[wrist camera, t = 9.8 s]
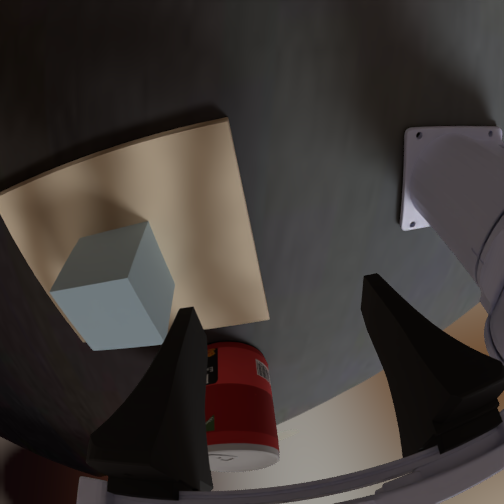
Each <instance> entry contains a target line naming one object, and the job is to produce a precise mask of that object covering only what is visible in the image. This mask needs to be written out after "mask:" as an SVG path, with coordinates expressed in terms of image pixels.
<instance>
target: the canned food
mask: <svg viewBox="0 0 504 504" xmlns="http://www.w3.org/2000/svg"><path fill="white" fill-rule="evenodd" d="M207 349H208V364H207V379H206V394H205V422H206V436H207V447H208V455H209V464H210V470H211V471H218V472H244V471H252V470H258V469H262V468H266V467H269V466H271V465H273V464H275V463H277V462H278V461H279V445H278V435H277V429H276V421H275V414H274V406H273V399H272V392H271V385H270V377H269V370H268V364H267V362H266V360H265V358H264V356H263V354H262V353H261V352H260V351H259V350H257V349H256V348H254V347H252V346H250V345H247V344H243V343H238V342H218V343H213V344H209V345H207Z"/></svg>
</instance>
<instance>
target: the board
mask: <svg viewBox="0 0 504 504" xmlns="http://www.w3.org/2000/svg"><path fill="white" fill-rule="evenodd" d="M0 214H1V216H2V218H3V220H4V222H5V224H6V226H7V228H8V230H9V231H10V233H11V235H12V237H13V239H14V241H15V242H16V244H17V246H18V248H19V249H20V251H21V253H22V254H23V256H24V258H25V259H26V261H27V263H28V264H29V266H30V268H31V269H32V271H33V272H34V274H35V276H36V277H37V279H38V280H39V282H40V283H41V285H42V286H43V288H44V289H45V291H46V292H47V294H48V295H49V297H50V298H51V300H52V301H53V303H54V304H55V305H56V307H57V308H58V310H59V311H60V312H61V314H62V315H63V316H64V318H65V319H66V321H67V322H68V323H69V325H70V326H71V327H72V328H73V330H74V331H75V332H76V334H77V335H78V336H79V337H80V339H81V340H82V341H83V342H86V341H85V340H84V339H83V337H82V336H81V335H80V333H79V332H78V331H77V330H76V328H75V327H74V326H73V324H72V323H71V322H70V320H69V319H68V318H67V316H66V315H65V314H64V312H63V311H62V310H61V308H60V307H59V305H58V304H57V303H56V301H55V300H54V298H53V297H52V295H51V294H50V293H49V292H50V290H51V288H52V286H53V284H54V282H55V280H56V279H57V277H58V275H59V273H60V271H61V269H62V268H63V266H64V264H65V262H66V261H67V259H68V257H69V255H70V254H71V252H72V250H73V248H74V247H75V245H76V243H77V242H78V240H79V238H82V237H86V236H90V235H94V234H97V233H101V232H105V231H109V230H113V229H117V228H121V227H125V226H129V225H134V224H138V223H142V222H146V221H149V224H150V226H151V229H152V231H153V234H154V236H155V239H156V241H157V243H158V246H159V248H160V251H161V253H162V255H163V258H164V260H165V262H166V265H167V267H168V269H169V271H170V274H171V276H172V278H173V280H174V283H175V288H174V294H173V300H172V306H171V313H170V319H169V326H168V332H169V330H170V327H171V325H172V323H173V321H174V319H175V317H176V315H177V312H178V310H179V309H180V308H186V307H193V306H194V309H195V311H196V313H197V316H198V318H199V320H200V322H201V325H202V327H203V329H204V330H205V329H212V328H219V327H226V326H232V325H239V324H245V323H252V322H258V321H264V320H270V319H269V312H268V306H267V301H266V296H265V292H264V287H263V282H262V277H261V272H260V267H259V263H258V258H257V253H256V248H255V243H254V238H253V234H252V229H251V224H250V219H249V215H248V210H247V205H246V200H245V195H244V191H243V186H242V181H241V176H240V172H239V167H238V162H237V157H236V153H235V148H234V143H233V138H232V134H231V129H230V124H229V120H228V117H225V118H220V119H215V120H211V121H206V122H202V123H197V124H193V125H189V126H185V127H181V128H177V129H173V130H169V131H165V132H161V133H158V134H154V135H150V136H147V137H144V138H140V139H137V140H133V141H130V142H127V143H124V144H120V145H117V146H114V147H111V148H108V149H105V150H102V151H99V152H96V153H93V154H91V155H88V156H85V157H82V158H80V159H77V160H74V161H72V162H69V163H66V164H64V165H61V166H59V167H56V168H54V169H51V170H49V171H46V172H44V173H42V174H39V175H37V176H34V177H32V178H30V179H28V180H25V181H23V182H21V183H19V184H17V185H14V186H12V187H10V188H8V189H6V190H4V191H2V192H0ZM167 334H168V333H167Z"/></svg>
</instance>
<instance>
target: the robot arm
mask: <svg viewBox="0 0 504 504" xmlns="http://www.w3.org/2000/svg"><path fill="white" fill-rule="evenodd" d="M489 131H490V133H489ZM418 132H419V133H420V135H419V136H418V137H417V138H416V134H417V133H418ZM488 133H489V135H488ZM411 222H413V223H412V224H410V223H411ZM428 226H431V227H432V228H433V229H434V231H435V232H436V233H437V234H438V235H439V237H440V238H441V239H442V240H443V241H444V243H445V244H446V245H447V246H448V247H449V249H450V250H451V251H452V252H453V254H454V255H455V256H456V257H457V259H458V260H459V261H460V262H461V264H462V265H463V266H464V268H465V269H466V270H467V272H468V273H469V274H470V276H471V277H472V278H473V280H474V281H475V282H476V284H477V285H478V286H479V288H480V290H481V298H480V302H481V304H482V305H483V307H484V308H485V310H486V311H487V313H488V314H489V315H488V318H487V320H486V323H485V329H484V338H485V344H486V348H487V351H488V353H489V355H490V356H487V355H485V354H482V353H480V352H478V351H476V350H474V349H472V348H470V347H468V346H467V345H465V344H463V343H461V342H460V341H458V340H456V339H455V338H453V337H451V336H450V335H448V334H447V333H445V332H444V331H442V330H441V329H439V328H438V327H437V326H435V325H434V324H433V323H431V322H430V321H429V320H428V319H426V318H425V317H424V316H423V315H421V314H420V313H419V312H418V311H417V310H416V309H414V308H413V307H412V306H411V305H410V304H409V303H408V302H407V301H406V300H405V299H403V298H402V297H401V296H400V295H399V294H398V293H397V292H396V291H395V290H394V289H393V288H392V287H391V286H390V285H389V284H388V283H387V282H386V281H385V280H384V279H383V278H382V277H381V276H380V275H379V274H377V273H376V274H371V275H366V276H364V280H363V291H362V302H361V311H362V315H363V318H364V322H365V325H366V328H367V331H368V333H369V336H370V338H371V340H372V343H373V345H374V347H375V350H376V352H377V354H378V357H379V359H380V361H381V364H382V366H383V369H384V371H385V374H386V377H387V380H388V384H389V387H390V391H391V395H392V399H393V403H394V408H395V412H396V417H397V422H398V427H399V432H400V439H401V446H402V455H403V458H402V459H399V460H396V461H393V462H389V463H386V464H383V465H380V466H376V467H373V468H369V469H366V470H362V471H358V472H354V473H350V474H346V475H341V476H337V477H332V478H328V479H322V480H317V481H312V482H306V483H300V484H293V485H286V486H279V487H270V488H260V489H249V490H235V491H211V490H212V489H213V483H212V477H211V470H210V464H209V455H208V447H207V436H206V422H205V394H206V379H207V364H208V349H207V336H206V334H205V331H204V329H203V327H202V325H201V322H200V320H199V318H198V316H197V313H196V311H195V309H194V306H193V307H186V308H180V309H179V310H178V312H177V315H176V317H175V319H174V321H173V323H172V325H171V327H170V330H169V332H168V334H167V336H166V338H165V340H164V342H163V343H162V345H161V347H160V349H159V351H158V353H157V355H156V356H155V358H154V360H153V362H152V363H151V365H150V367H149V368H148V370H147V372H146V373H145V375H144V376H143V378H142V379H141V381H140V382H139V383H138V385H137V386H136V388H135V389H134V390H133V391H132V393H131V394H130V395H129V397H128V398H127V399H126V400H125V402H124V403H123V404H122V405H121V406H120V407H119V408H118V409H117V410H116V411H115V413H114V414H113V415H112V416H111V417H110V418H109V419H108V420H107V421H106V422H105V423H103V424H102V425H101V426H100V427H99V428H98V429H97V430H96V431H94V432H93V433H92V434H91V436H90V440H89V444H88V451H87V458H86V463H87V464H88V465H89V466H90V467H92V468H94V469H96V470H98V471H99V472H101V473H103V474H105V475H107V476H108V482H107V481H104V480H99V479H94V478H88V477H83V476H81V477H80V480H79V488H78V496H77V504H279V503H287V502H294V501H300V500H307V499H313V498H319V497H324V496H329V495H333V494H338V493H343V492H347V491H351V490H355V489H359V488H363V487H367V486H370V485H373V484H377V483H380V482H384V481H387V480H390V479H393V478H397V477H399V478H397V479H395V480H392V481H389V482H387V483H384V484H383V486H382V488H380V489H378V490H376V491H375V495H370V496H366V497H362V498H358V499H353V500H349V501H344V502H340V503H335V504H439V503H441V502H443V501H445V500H448V499H450V498H452V497H454V496H456V495H458V494H460V493H462V492H464V491H466V490H468V489H470V488H472V487H474V486H475V485H477V484H479V483H481V482H482V481H484V480H486V479H488V478H490V477H491V476H493V475H495V474H496V473H498V472H500V471H501V470H503V469H504V409H503V410H502V411H501V412H499V411H498V409H497V407H498V406H499V402H498V399H497V398H498V396H499V395H500V394H501V393H502V392H503V391H504V142H502V130H501V128H499V127H496V126H432V127H410V128H408V129H407V130H406V131H405V134H404V170H403V189H402V203H401V214H400V227H401V229H402V230H404V231H407V230H412V229H418V228H423V227H428ZM411 472H412V473H411ZM408 473H409V474H408ZM405 474H407V475H405ZM403 475H404V476H403ZM400 476H402V477H400Z"/></svg>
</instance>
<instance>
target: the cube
mask: <svg viewBox="0 0 504 504" xmlns="http://www.w3.org/2000/svg"><path fill="white" fill-rule="evenodd" d="M174 288H175V283H174V280H173V278H172V276H171V274H170V271H169V269H168V267H167V265H166V262H165V260H164V258H163V255H162V253H161V251H160V248H159V246H158V243H157V241H156V239H155V236H154V234H153V231H152V229H151V226H150V224H149V221H146V222H142V223H138V224H134V225H129V226H125V227H121V228H117V229H113V230H109V231H105V232H101V233H97V234H94V235H90V236H86V237H82V238H79V240H78V242H77V243H76V245H75V247H74V248H73V250H72V252H71V254H70V255H69V257H68V259H67V261H66V262H65V264H64V266H63V268H62V269H61V271H60V273H59V275H58V277H57V279H56V280H55V282H54V284H53V286H52V288H51V290H50V292H49V293H50V294H51V295H52V297H53V298H54V300H55V301H56V303H57V304H58V305H59V307H60V308H61V310H62V311H63V312H64V314H65V315H66V316H67V318H68V319H69V320H70V322H71V323H72V324H73V326H74V327H75V328H76V330H77V331H78V332H79V333H80V335H81V336H82V337H83V339H84V340H85V341H86V342H87V343H88V345H89V346H90V347H91V348H92V350H93V351H95V350H109V349H122V348H133V347H143V346H153V345H162V343H163V342H164V340H165V338H166V336H167V333H168V326H169V319H170V313H171V306H172V300H173V294H174Z"/></svg>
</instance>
